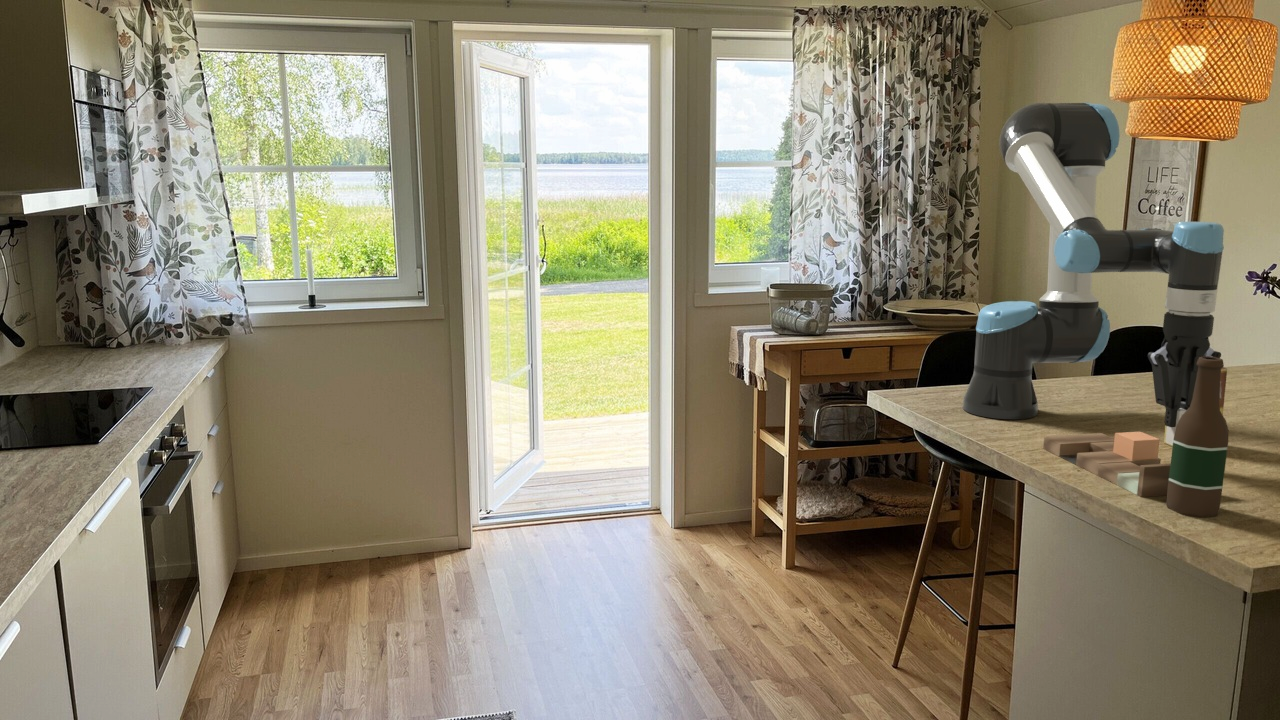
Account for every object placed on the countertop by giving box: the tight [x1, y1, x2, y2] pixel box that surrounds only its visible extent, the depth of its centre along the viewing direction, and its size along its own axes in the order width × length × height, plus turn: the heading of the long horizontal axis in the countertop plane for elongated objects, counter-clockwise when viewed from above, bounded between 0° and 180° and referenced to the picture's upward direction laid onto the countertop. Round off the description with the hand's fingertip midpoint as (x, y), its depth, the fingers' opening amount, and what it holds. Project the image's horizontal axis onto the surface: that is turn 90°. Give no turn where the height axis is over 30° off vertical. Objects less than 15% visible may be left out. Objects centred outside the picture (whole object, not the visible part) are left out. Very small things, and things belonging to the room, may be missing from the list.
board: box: [1043, 432, 1171, 498], centre depth 170 cm, size 27×12×5 cm, turn 11°
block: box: [1113, 431, 1161, 460], centre depth 171 cm, size 5×5×4 cm
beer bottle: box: [1166, 356, 1230, 518], centre depth 149 cm, size 8×8×24 cm
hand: (1174, 444), depth 173 cm, fingers closed
